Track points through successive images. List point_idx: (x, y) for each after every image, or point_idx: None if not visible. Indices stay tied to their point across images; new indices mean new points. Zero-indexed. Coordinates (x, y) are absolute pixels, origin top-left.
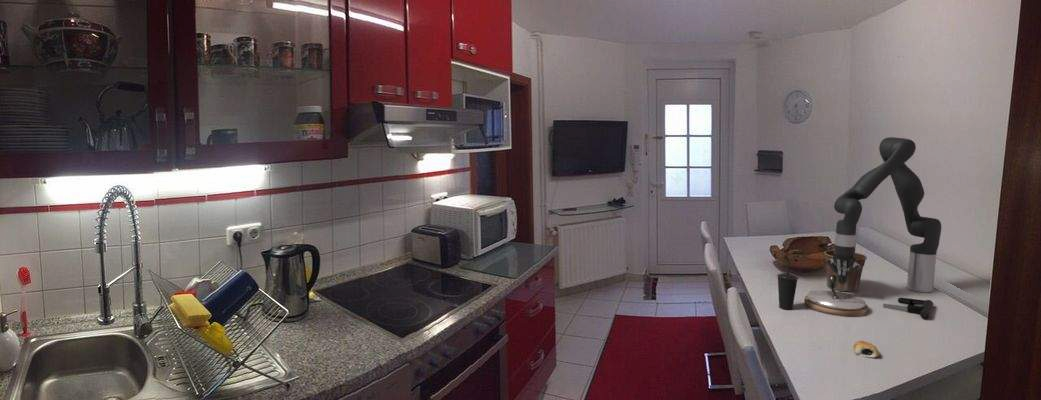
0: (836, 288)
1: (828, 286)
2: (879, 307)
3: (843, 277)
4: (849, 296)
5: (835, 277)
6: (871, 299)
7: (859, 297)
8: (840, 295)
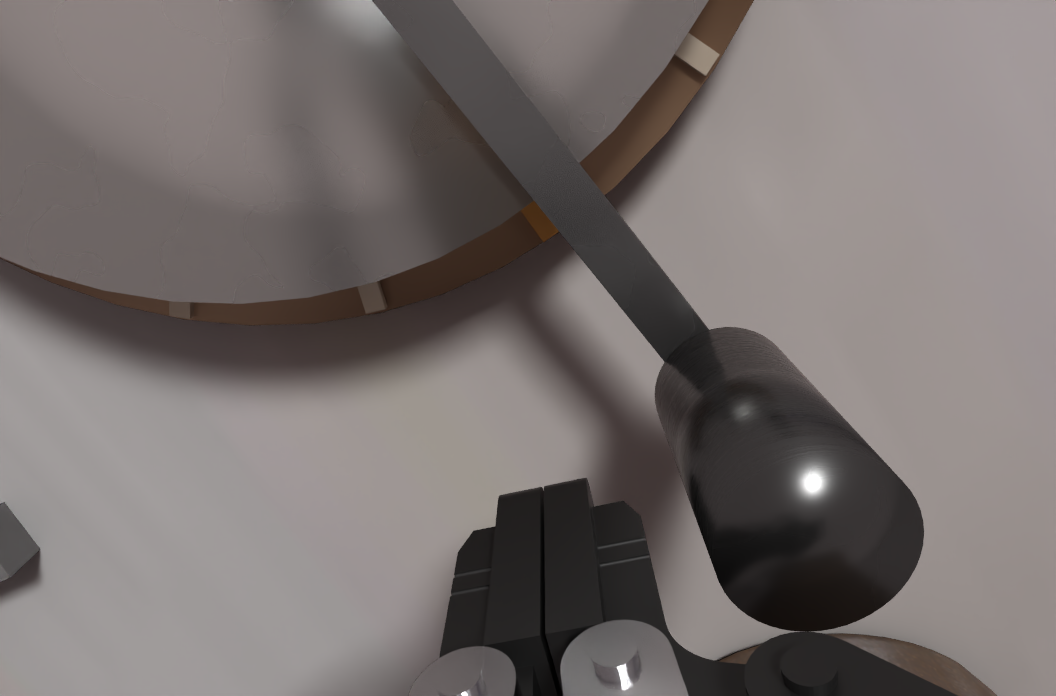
0: None
1: (953, 664)
2: (17, 462)
3: (488, 609)
4: (137, 135)
5: (707, 520)
6: (318, 676)
7: (26, 266)
8: (257, 7)
